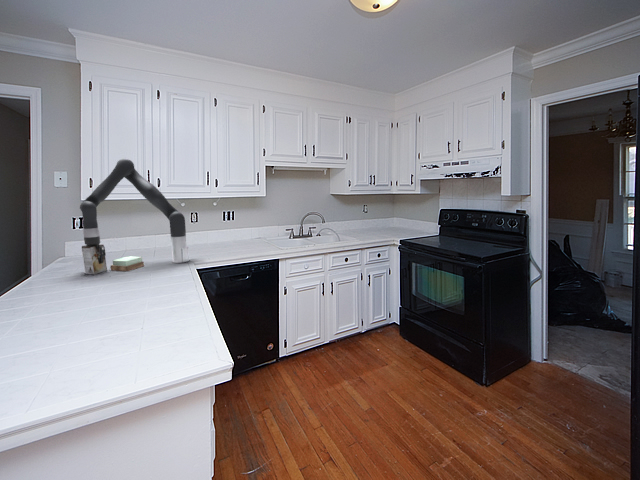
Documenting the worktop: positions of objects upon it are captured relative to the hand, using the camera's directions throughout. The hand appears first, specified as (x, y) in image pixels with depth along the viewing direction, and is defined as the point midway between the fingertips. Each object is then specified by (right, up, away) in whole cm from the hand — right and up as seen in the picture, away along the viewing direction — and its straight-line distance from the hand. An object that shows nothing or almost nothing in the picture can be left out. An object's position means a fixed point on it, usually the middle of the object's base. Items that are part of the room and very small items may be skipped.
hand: (95, 263), depth 189 cm
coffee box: (0, -6, +1) cm, 6 cm away
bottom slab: (+13, -4, +10) cm, 17 cm away
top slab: (+14, -1, +9) cm, 17 cm away
